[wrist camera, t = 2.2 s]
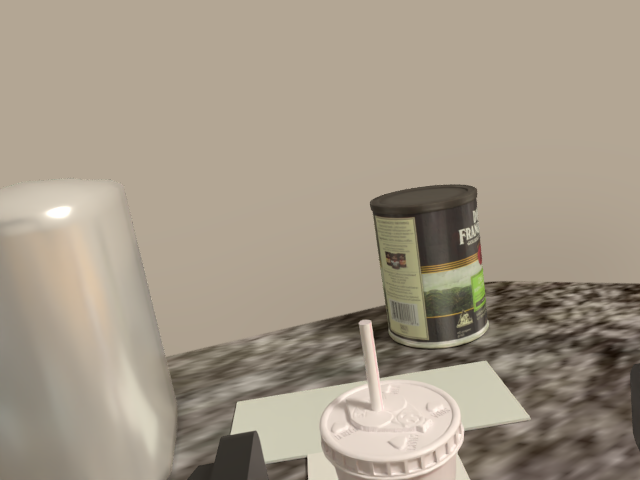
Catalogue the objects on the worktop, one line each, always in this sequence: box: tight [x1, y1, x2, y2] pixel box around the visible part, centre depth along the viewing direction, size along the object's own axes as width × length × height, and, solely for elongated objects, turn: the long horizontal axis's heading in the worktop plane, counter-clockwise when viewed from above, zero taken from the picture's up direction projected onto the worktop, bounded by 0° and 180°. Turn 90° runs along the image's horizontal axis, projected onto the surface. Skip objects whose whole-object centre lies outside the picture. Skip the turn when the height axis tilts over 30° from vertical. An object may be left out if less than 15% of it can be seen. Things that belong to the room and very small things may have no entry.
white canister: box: [0, 178, 178, 480], centre depth 37 cm, size 15×14×22 cm
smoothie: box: [319, 320, 464, 480], centre depth 24 cm, size 6×6×14 cm
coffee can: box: [370, 185, 489, 349], centre depth 54 cm, size 10×10×14 cm
